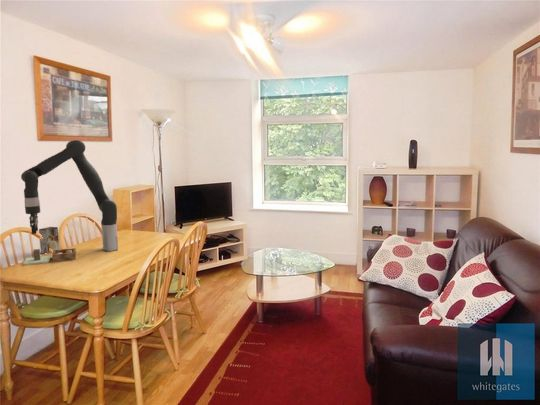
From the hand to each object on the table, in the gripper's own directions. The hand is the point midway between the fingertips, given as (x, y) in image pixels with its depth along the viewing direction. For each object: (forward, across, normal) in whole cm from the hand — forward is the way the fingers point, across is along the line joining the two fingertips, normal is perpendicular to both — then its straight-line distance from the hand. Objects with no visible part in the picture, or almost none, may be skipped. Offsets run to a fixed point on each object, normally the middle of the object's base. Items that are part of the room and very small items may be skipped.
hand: (35, 232), depth 235 cm
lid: (+17, 0, 0) cm, 17 cm away
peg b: (+18, -2, -12) cm, 21 cm away
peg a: (+18, +2, -17) cm, 24 cm away
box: (+18, 0, -14) cm, 23 cm away
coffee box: (+18, +24, -5) cm, 30 cm away
